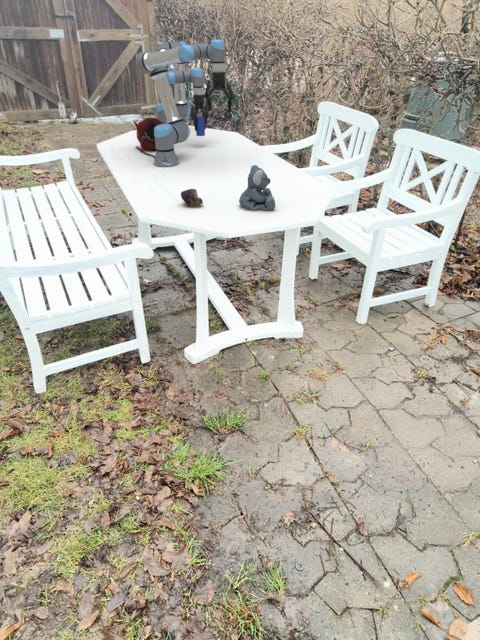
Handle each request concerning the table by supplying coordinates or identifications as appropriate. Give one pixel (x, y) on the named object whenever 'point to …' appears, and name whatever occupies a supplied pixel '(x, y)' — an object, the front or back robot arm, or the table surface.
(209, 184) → the table surface
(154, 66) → the front robot arm
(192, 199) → the rock
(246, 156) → the table surface
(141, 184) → the table surface
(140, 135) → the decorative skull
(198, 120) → the can
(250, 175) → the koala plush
